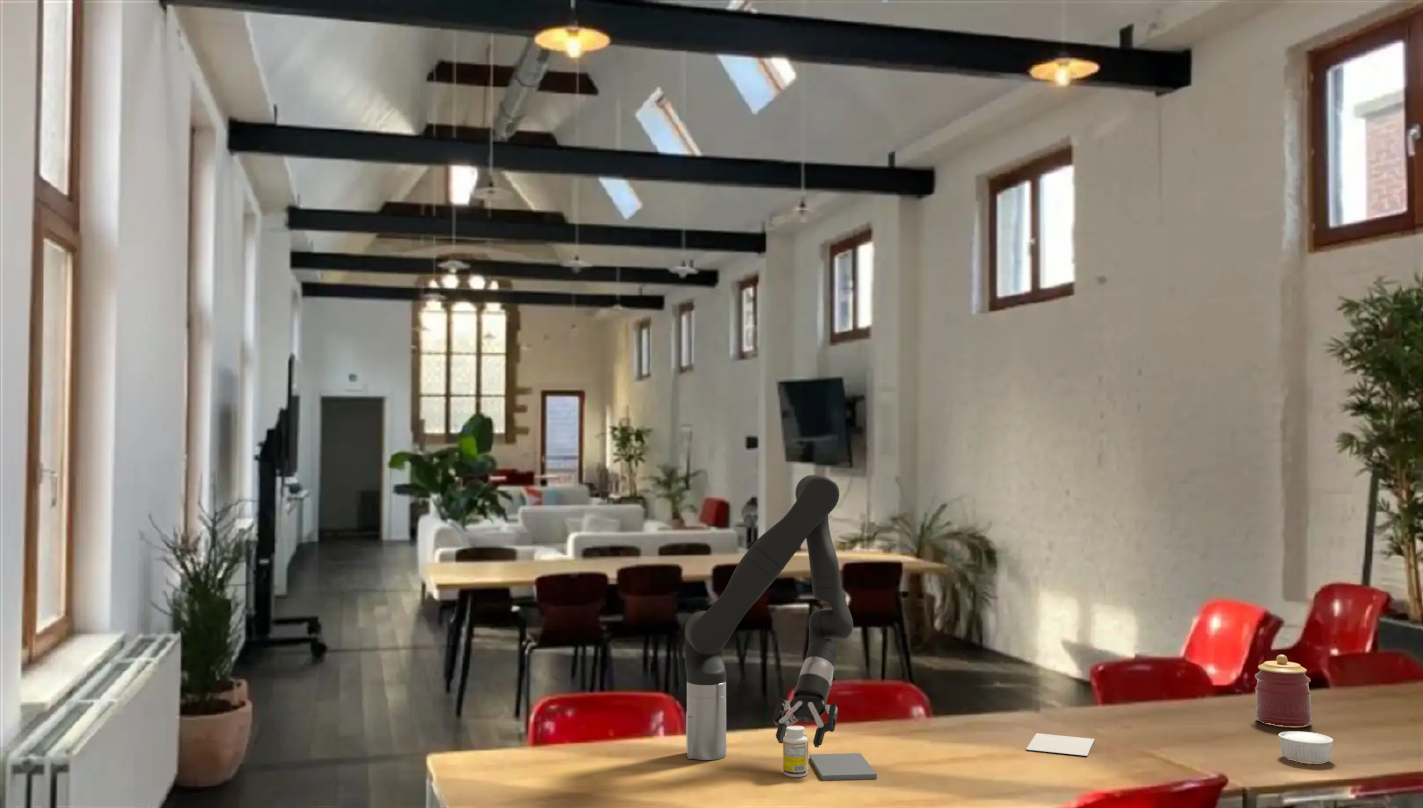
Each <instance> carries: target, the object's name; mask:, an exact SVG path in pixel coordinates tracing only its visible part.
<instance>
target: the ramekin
mask: <svg viewBox="0 0 1423 808" xmlns="http://www.w3.org/2000/svg"><path fill="white" fill-rule="evenodd" d="M1277 736H1278V737H1277V738H1278V740H1279V744H1280V749H1281V753H1282V756H1283V757H1284V758H1285V757H1286V758H1288V759H1293V760H1296V761H1301V762H1302V761H1303V762H1310V763H1311V762H1312V763H1322V762H1328V763H1329V762H1330V760H1331V757H1332V755H1331V754H1332V751H1333V750H1332V749H1333V745H1334V739H1333V738H1332V737H1330V736H1328V735H1325V734H1321V733H1316V732H1311V731H1309V732H1308V731H1299V730H1297V731H1282V732H1280V733H1278V735H1277ZM1286 758H1285V759H1286Z"/></svg>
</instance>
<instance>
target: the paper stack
mask: <svg viewBox="0 0 1423 808" xmlns="http://www.w3.org/2000/svg"><path fill="white" fill-rule="evenodd" d="M1094 742H1095V738H1089V737H1079V736H1068V735H1059V734H1058V735H1057V734H1050V733H1049V734H1047V733H1037V732H1036V733H1035V735H1034V736H1033V737H1032V739H1031V741H1030V742H1029V743H1028V745H1027V747H1026V748H1025V750H1028V751H1037V752H1044V753H1045V752H1046V753H1047V752H1048V753H1057V754H1067V755H1075V756H1085V757H1086V756H1087V757H1088V756H1089V753H1090V750H1091V748H1092V747H1093V743H1094Z"/></svg>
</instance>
